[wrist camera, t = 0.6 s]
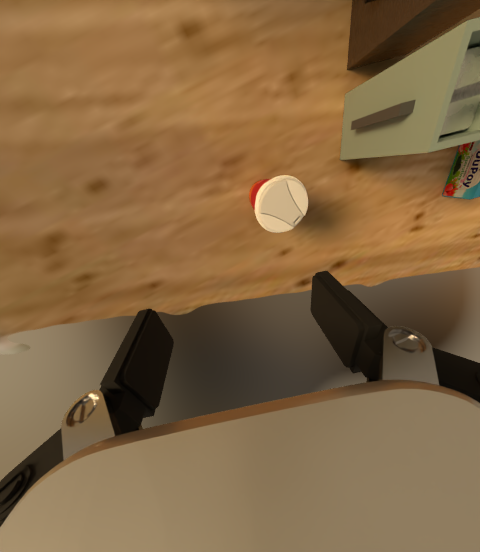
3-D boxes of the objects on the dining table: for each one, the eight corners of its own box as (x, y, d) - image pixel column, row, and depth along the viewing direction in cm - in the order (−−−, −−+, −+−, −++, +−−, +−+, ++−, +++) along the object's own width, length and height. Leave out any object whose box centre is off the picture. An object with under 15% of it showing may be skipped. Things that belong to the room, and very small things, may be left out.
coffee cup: (288, 191, 38) (323, 202, 26) (263, 222, 41) (283, 245, 29) (260, 163, 35) (284, 159, 22) (235, 198, 38) (244, 213, 25)
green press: (335, 96, 31) (447, 25, 16) (400, 79, 31) (580, -10, 16) (331, 162, 36) (413, 156, 21) (387, 148, 36) (511, 132, 21)
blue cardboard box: (447, 194, 43) (479, 197, 37) (441, 196, 43) (472, 199, 37) (469, 133, 36) (512, 126, 31) (462, 135, 36) (503, 129, 31)
